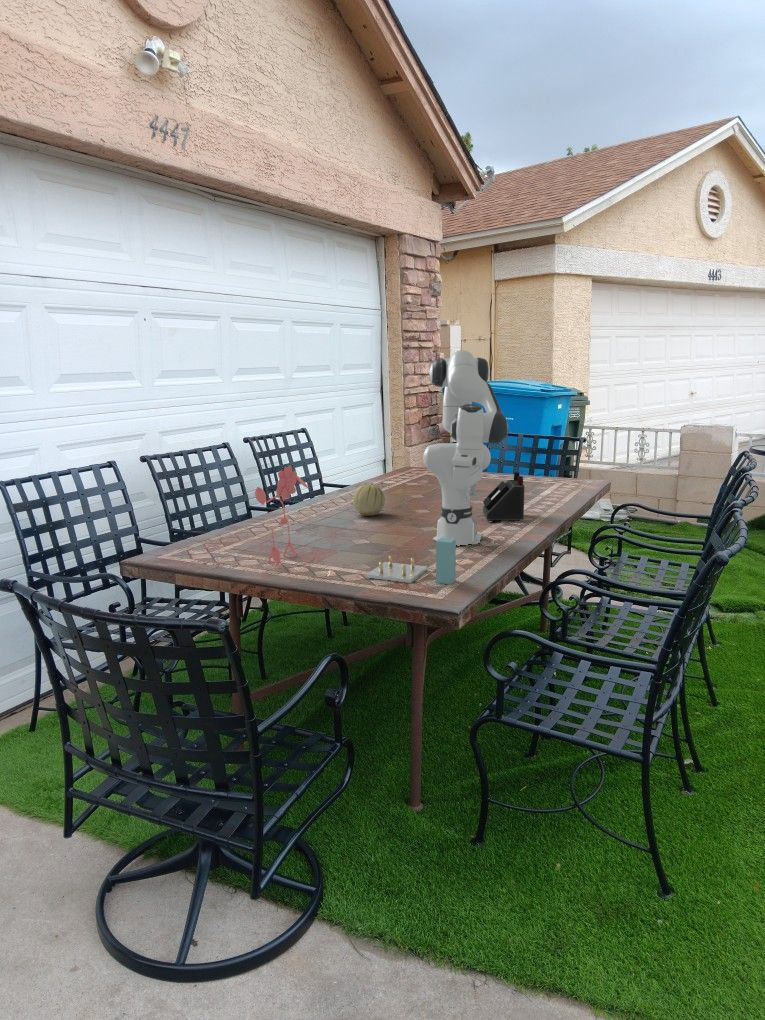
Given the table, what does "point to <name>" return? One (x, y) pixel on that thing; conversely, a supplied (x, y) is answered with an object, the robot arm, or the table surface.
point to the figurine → (285, 489)
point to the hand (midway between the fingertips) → (468, 499)
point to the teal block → (445, 560)
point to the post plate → (397, 571)
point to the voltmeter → (506, 501)
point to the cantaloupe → (368, 499)
